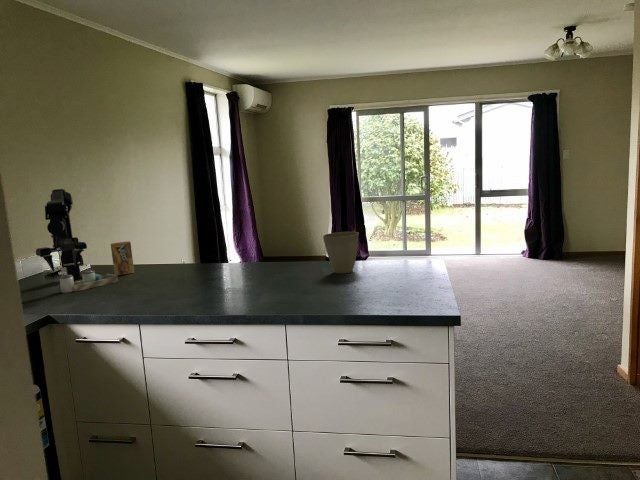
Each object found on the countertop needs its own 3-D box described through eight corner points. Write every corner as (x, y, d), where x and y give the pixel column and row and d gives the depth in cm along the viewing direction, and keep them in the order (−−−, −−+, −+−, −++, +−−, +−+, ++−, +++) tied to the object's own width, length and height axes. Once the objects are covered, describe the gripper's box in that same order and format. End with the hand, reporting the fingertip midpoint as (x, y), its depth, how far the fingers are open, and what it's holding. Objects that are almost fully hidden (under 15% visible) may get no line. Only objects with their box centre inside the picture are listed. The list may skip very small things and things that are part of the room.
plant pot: (362, 267, 224) (360, 230, 222) (359, 275, 210) (356, 236, 207) (328, 268, 227) (326, 232, 225) (322, 276, 213) (320, 237, 210)
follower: (100, 284, 227) (98, 275, 227) (93, 283, 231) (92, 274, 231) (102, 284, 228) (101, 275, 227) (96, 282, 232) (95, 273, 232)
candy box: (133, 271, 254) (129, 240, 252) (134, 273, 250) (130, 241, 248) (114, 274, 250) (110, 243, 248) (115, 275, 246) (110, 244, 244)
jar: (59, 291, 220) (57, 276, 219) (71, 289, 224) (69, 274, 223) (64, 293, 217) (62, 277, 216) (77, 290, 221) (74, 275, 220)
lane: (75, 291, 218) (74, 284, 218) (66, 289, 224) (65, 282, 224) (118, 281, 232) (117, 275, 231) (108, 279, 238) (107, 273, 237)
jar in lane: (81, 286, 227) (79, 272, 226) (93, 284, 231) (91, 269, 230) (86, 288, 224) (84, 273, 223) (98, 285, 227) (96, 270, 226)
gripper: (43, 236, 204) (49, 275, 207) (90, 229, 218) (95, 266, 220) (32, 235, 212) (38, 272, 214) (78, 228, 225) (83, 264, 228)
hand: (64, 268), depth 219 cm, fingers open, 9 cm apart
